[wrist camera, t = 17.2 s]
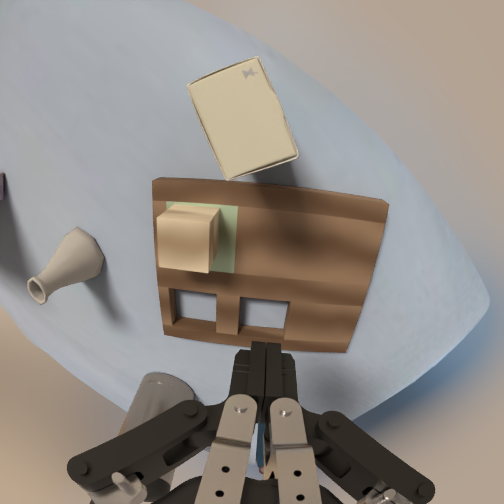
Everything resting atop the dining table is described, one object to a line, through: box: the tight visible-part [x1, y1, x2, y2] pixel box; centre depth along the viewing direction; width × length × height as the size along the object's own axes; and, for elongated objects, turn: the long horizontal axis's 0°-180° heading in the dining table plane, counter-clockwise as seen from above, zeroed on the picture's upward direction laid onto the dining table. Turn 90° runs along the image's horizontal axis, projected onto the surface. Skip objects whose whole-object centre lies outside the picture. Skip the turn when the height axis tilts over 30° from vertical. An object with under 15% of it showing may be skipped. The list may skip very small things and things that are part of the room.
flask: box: [27, 227, 104, 305], centre depth 26 cm, size 7×7×10 cm
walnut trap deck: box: [152, 177, 389, 353], centre depth 29 cm, size 19×23×2 cm
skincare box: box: [187, 56, 299, 181], centre depth 18 cm, size 6×4×12 cm
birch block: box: [157, 204, 220, 273], centre depth 24 cm, size 4×4×4 cm
